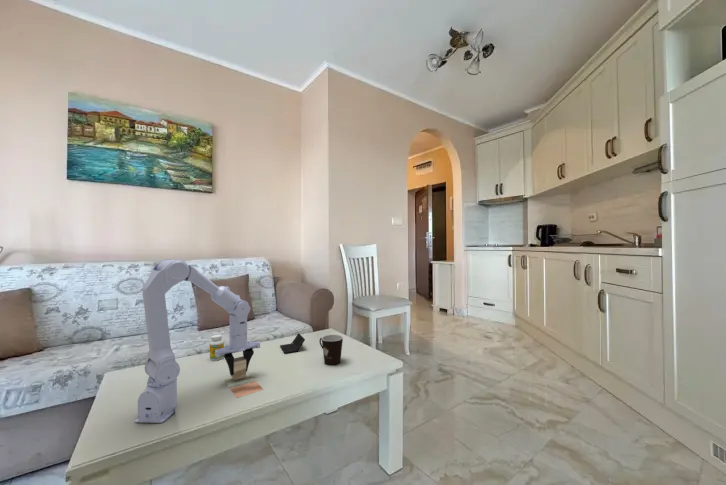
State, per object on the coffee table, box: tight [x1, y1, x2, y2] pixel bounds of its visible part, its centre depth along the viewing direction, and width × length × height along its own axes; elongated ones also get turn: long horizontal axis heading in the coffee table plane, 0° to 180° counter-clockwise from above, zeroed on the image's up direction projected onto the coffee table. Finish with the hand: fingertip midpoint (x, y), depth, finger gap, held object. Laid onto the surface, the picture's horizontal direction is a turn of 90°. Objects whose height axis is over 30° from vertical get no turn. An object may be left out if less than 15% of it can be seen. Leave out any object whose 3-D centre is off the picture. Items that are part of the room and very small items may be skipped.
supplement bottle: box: [209, 334, 225, 362], centre depth 127 cm, size 5×5×10 cm
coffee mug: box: [319, 334, 344, 367], centre depth 124 cm, size 12×9×10 cm
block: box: [230, 355, 247, 380], centre depth 105 cm, size 4×4×6 cm
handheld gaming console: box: [279, 332, 306, 355], centre depth 138 cm, size 12×7×10 cm
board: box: [223, 371, 264, 399], centre depth 102 cm, size 18×10×1 cm, turn 38°
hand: (238, 372), depth 105 cm, fingers closed on block, 4 cm apart
